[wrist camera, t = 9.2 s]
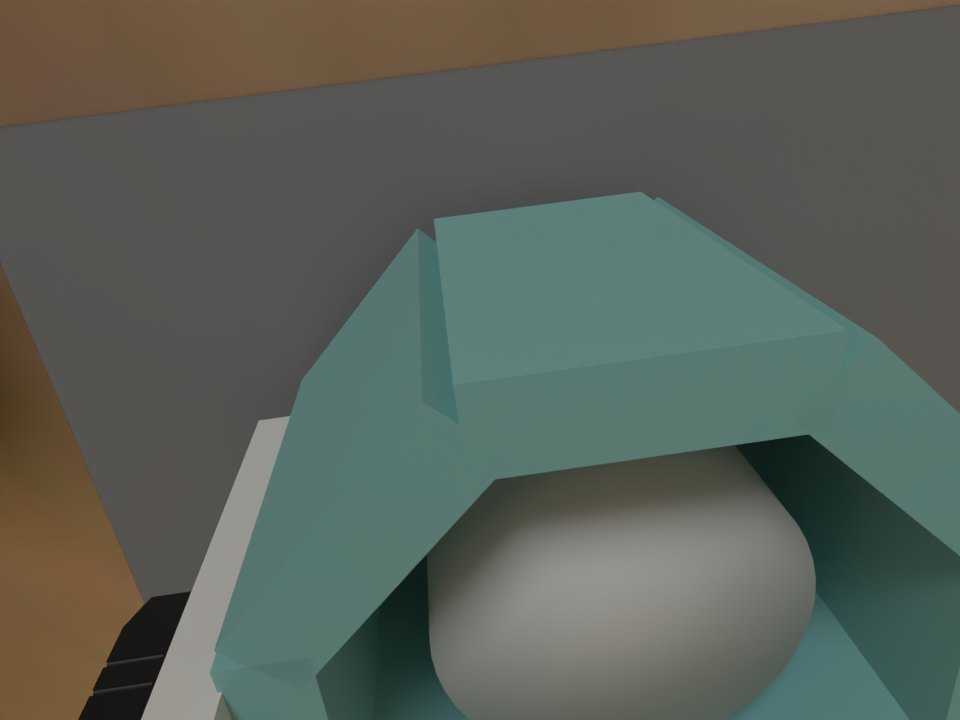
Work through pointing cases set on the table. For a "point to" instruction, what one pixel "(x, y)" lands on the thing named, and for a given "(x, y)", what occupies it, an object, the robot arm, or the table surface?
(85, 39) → the table surface
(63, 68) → the table surface
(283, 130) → the stand
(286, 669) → the collar
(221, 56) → the table surface
